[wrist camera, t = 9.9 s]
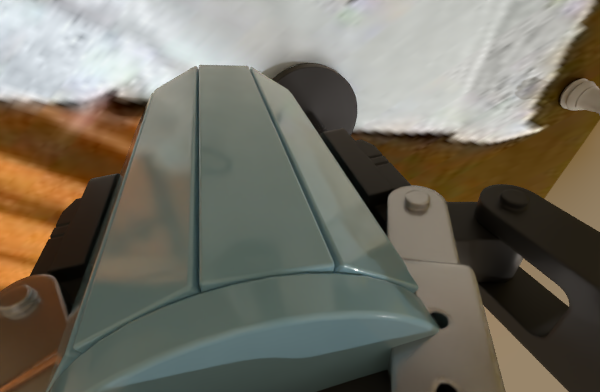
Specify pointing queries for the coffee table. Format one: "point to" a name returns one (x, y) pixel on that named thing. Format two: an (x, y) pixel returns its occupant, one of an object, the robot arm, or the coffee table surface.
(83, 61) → the coffee table surface
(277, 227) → the cup
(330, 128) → the holder
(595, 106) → the rook chess piece
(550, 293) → the robot arm
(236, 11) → the coffee table surface
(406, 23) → the coffee table surface
